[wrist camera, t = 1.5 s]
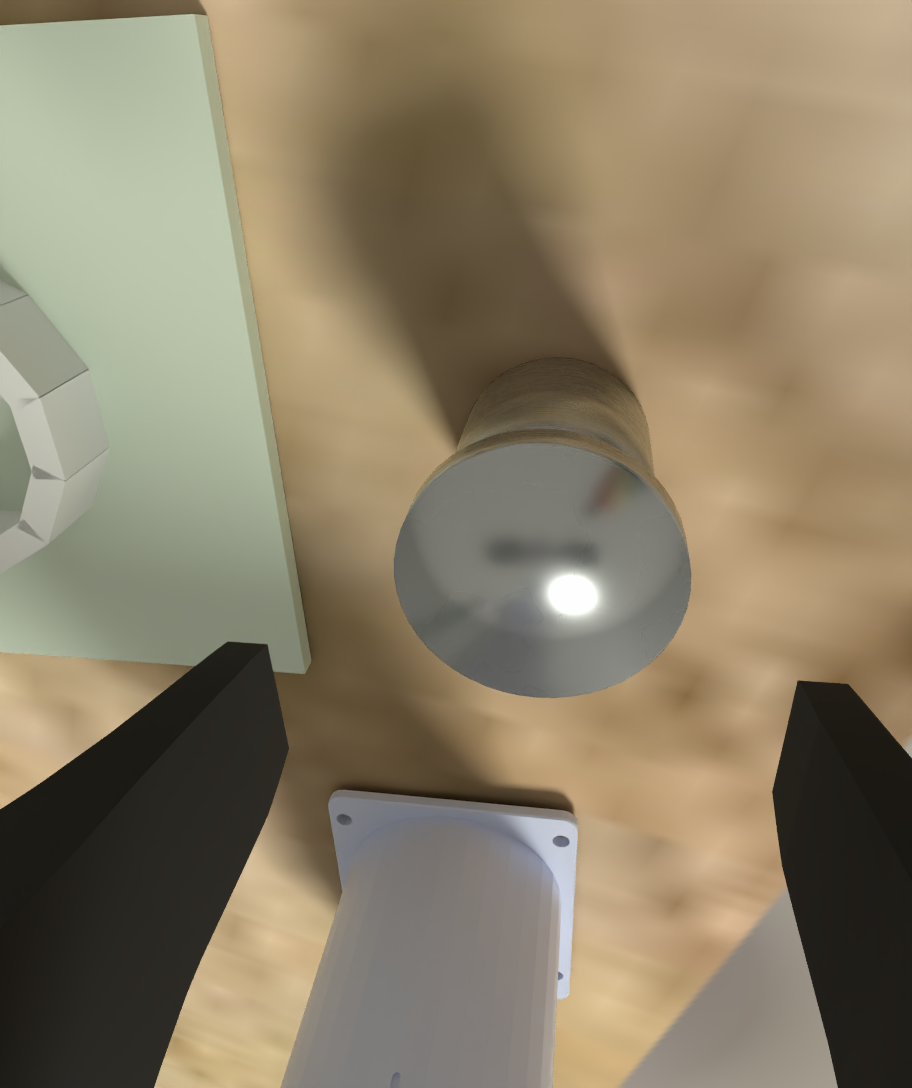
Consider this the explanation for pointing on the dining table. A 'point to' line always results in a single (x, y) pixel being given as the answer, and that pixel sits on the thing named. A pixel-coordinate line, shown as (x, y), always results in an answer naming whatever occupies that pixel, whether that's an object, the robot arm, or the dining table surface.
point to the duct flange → (131, 359)
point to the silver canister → (546, 539)
